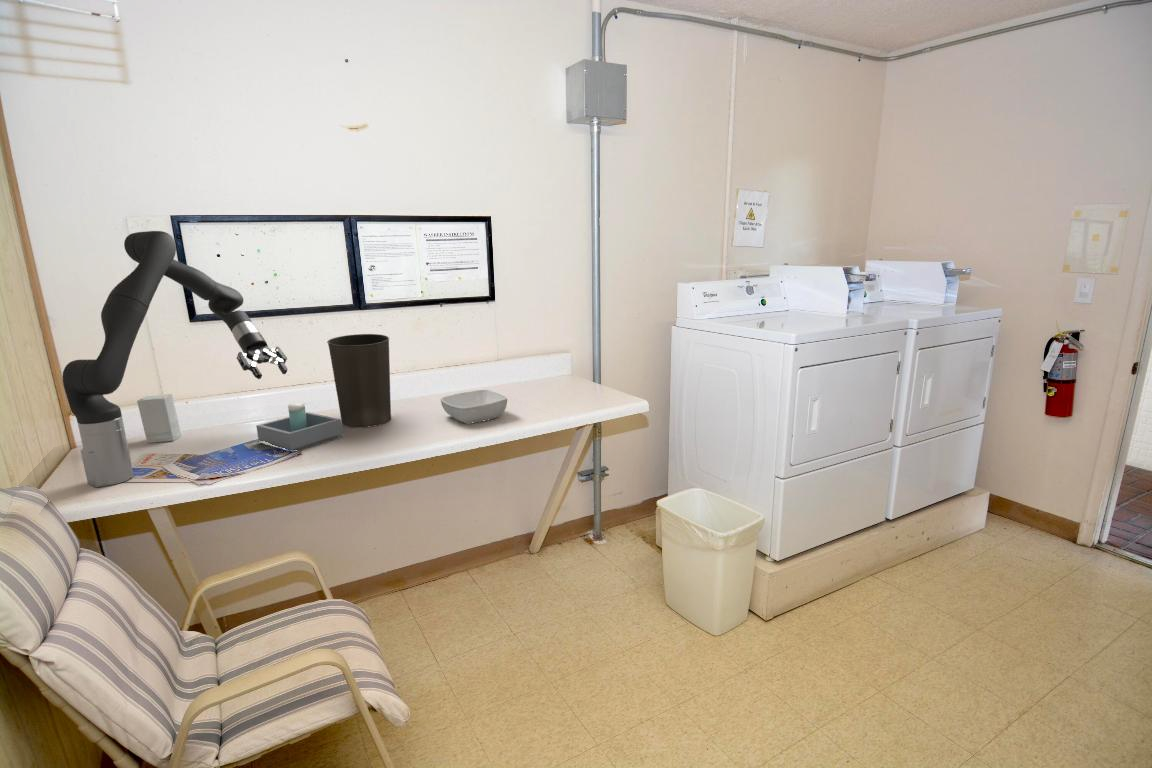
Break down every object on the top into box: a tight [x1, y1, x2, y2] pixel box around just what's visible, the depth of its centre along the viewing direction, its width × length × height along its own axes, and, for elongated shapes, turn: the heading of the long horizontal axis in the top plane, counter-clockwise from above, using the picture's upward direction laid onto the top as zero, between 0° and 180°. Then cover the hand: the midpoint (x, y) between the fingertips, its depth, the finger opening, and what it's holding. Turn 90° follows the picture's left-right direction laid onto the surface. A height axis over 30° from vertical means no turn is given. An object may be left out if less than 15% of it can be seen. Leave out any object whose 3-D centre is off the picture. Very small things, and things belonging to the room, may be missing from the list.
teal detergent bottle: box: [287, 402, 307, 432], centre depth 187 cm, size 5×5×11 cm
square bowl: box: [440, 389, 508, 424], centre depth 210 cm, size 20×20×8 cm
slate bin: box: [256, 411, 343, 451], centre depth 188 cm, size 18×18×6 cm
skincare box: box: [136, 393, 182, 444], centre depth 190 cm, size 8×6×15 cm
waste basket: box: [327, 333, 392, 428], centre depth 205 cm, size 27×20×30 cm
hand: (273, 375), depth 190 cm, fingers open, 8 cm apart
